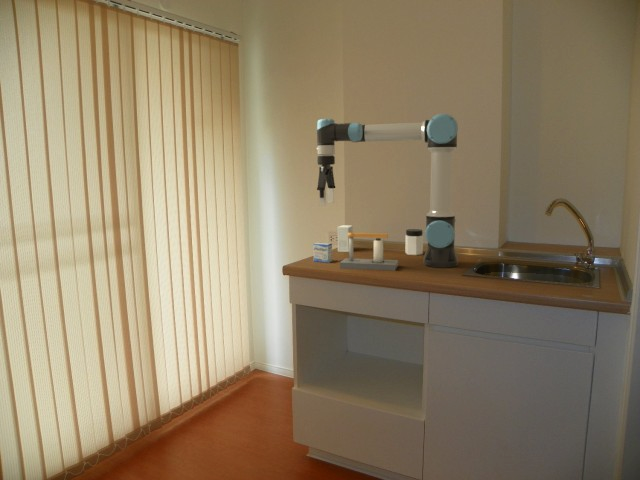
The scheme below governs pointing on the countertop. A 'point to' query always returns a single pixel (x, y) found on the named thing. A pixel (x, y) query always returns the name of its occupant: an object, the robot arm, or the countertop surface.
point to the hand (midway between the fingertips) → (326, 204)
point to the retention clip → (368, 235)
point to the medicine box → (322, 252)
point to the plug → (378, 250)
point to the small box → (343, 237)
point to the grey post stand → (366, 262)
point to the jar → (414, 242)
